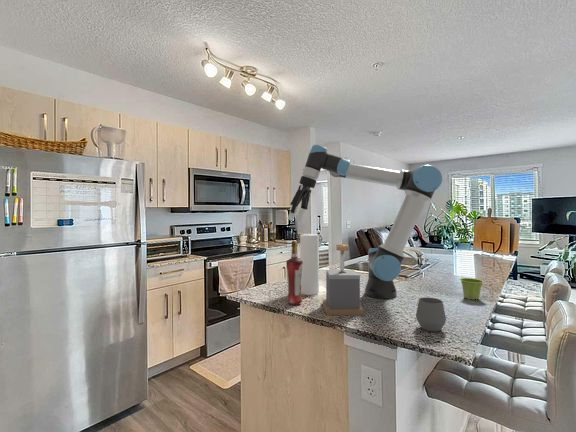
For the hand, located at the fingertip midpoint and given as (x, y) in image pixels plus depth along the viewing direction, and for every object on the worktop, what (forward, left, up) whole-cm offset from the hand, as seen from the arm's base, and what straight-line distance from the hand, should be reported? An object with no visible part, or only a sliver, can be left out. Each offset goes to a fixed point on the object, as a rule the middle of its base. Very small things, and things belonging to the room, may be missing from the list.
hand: (294, 220), depth 144 cm
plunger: (-20, +16, -26) cm, 36 cm away
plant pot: (-84, 0, -37) cm, 92 cm away
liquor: (0, +8, -37) cm, 38 cm away
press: (-20, +16, -37) cm, 45 cm away
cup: (-47, +38, -37) cm, 71 cm away
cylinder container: (-8, -11, -37) cm, 40 cm away
